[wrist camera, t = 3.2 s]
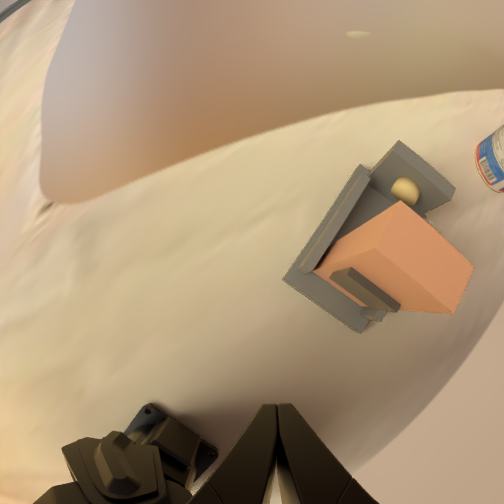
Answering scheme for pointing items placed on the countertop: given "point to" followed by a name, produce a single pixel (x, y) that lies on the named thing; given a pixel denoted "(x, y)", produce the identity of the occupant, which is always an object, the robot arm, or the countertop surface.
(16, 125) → the countertop surface
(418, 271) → the orange tall block
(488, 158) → the pill bottle
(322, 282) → the switch base
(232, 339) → the countertop surface
